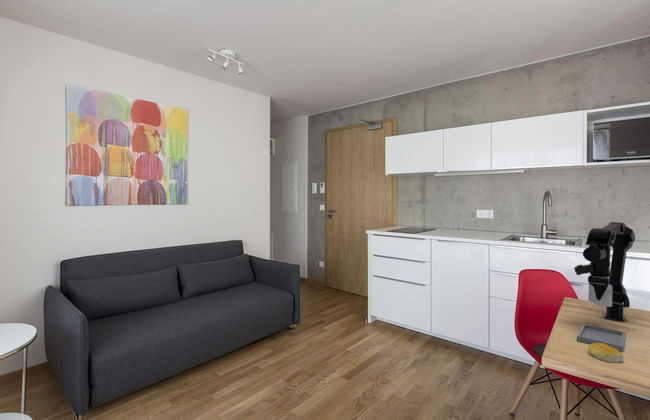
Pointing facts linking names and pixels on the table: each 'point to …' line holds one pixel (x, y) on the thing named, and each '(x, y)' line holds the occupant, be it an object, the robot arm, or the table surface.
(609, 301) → the medicine box
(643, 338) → the table surface
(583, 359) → the table surface
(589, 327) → the tray
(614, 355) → the bread roll
